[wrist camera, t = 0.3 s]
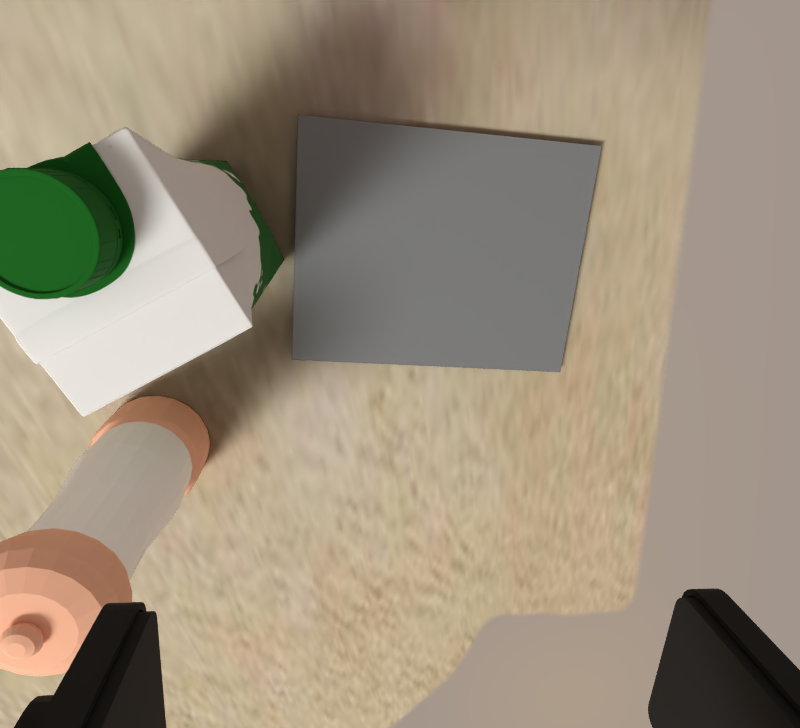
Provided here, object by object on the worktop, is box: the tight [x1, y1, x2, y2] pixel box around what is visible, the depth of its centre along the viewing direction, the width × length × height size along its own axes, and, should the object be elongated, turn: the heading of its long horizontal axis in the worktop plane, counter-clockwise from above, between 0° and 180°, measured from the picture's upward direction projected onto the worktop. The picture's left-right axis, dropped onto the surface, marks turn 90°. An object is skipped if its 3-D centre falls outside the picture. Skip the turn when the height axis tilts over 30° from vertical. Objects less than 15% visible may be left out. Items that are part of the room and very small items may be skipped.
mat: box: [292, 115, 601, 372], centre depth 38 cm, size 16×20×1 cm
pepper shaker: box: [0, 396, 210, 676], centre depth 31 cm, size 7×7×19 cm
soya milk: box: [0, 127, 284, 417], centre depth 27 cm, size 9×9×20 cm
